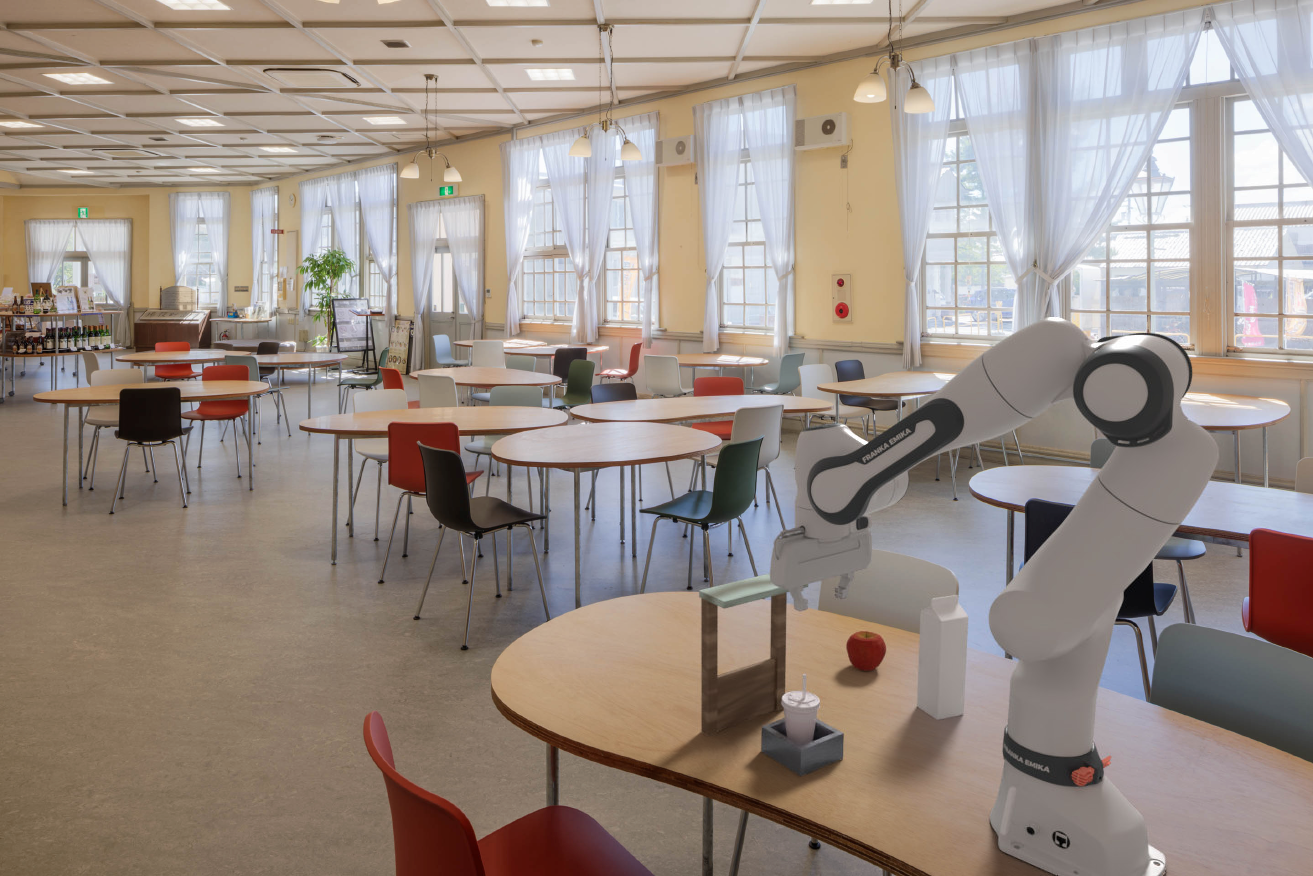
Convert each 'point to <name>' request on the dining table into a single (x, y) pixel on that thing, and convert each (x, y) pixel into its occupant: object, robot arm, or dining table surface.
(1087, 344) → the robot arm
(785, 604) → the green-topped frame
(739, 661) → the dining table surface
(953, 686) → the milk
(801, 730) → the smoothie
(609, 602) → the dining table surface
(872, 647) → the apple
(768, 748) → the socket
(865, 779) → the dining table surface
